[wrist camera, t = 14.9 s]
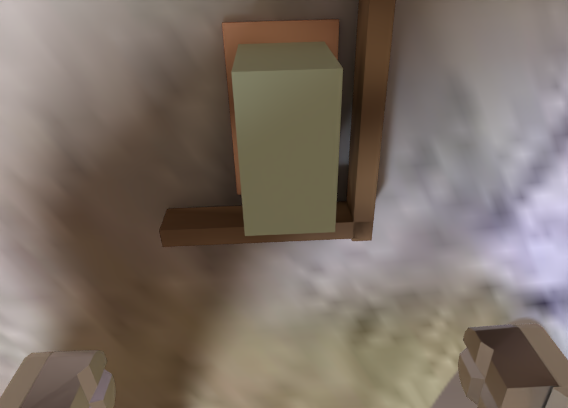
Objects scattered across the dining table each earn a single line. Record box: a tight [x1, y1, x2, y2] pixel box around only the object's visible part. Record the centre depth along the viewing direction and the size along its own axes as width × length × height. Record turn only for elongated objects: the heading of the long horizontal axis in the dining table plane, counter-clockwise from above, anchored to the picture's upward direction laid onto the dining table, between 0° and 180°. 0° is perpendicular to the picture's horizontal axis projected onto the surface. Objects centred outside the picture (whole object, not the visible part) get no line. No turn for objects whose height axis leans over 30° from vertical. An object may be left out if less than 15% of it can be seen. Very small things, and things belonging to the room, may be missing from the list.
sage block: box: [231, 41, 343, 236], centre depth 22 cm, size 4×8×6 cm, turn 1°
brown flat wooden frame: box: [159, 0, 396, 247], centre depth 23 cm, size 15×13×2 cm
